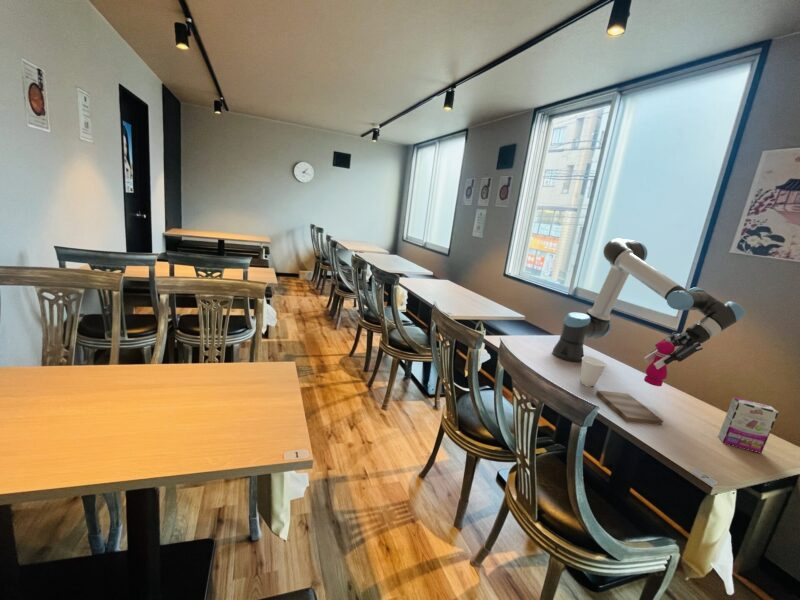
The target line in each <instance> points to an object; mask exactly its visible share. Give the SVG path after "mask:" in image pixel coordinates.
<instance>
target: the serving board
mask: <svg viewBox="0 0 800 600" xmlns="http://www.w3.org/2000/svg"><path fill="white" fill-rule="evenodd" d="M595 395H596V396H597V397H598V398H599V399H600V400H601V401H603V403H604V404H606V405H607V407H609V408H610V409H611V410H613V412H615V414H617V416H619V417H620V418H621V419H622V420H623V421H624V422H626V423H633V424H642V425H643V424H644V425H653V426H662V425H663V423H664V420H663V419H662V418H660V417H659V416H658V415H656V413H654V412H653V411H651V410H650V409H649V408H648V407H646V406H645V405H644V404H642V403H641V402H640V401H638V400H637V399H636V398H635V397H633V396H632V395H631V394H629V393H628V392H616V391H606V390H599V389H597V390H596V392H595Z"/></svg>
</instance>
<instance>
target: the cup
mask: <svg viewBox="0 0 800 600" xmlns="http://www.w3.org/2000/svg"><path fill="white" fill-rule="evenodd" d="M606 366H607V363H606V362H604V361H603V360H601V359H599V358H595V357H592V356H584V357H582V362H581V366H580V367H581V369H580V377H579V380H580V381H579V382H580V383H581V384H582V385H585V386H586V385H587V386H586V387H590V386H593V387H595V386H596V385H597V383H598V380H599V379H600V377H601V375H602V373H603V372H604V369H605V367H606Z"/></svg>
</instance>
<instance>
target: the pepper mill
mask: <svg viewBox="0 0 800 600" xmlns="http://www.w3.org/2000/svg"><path fill="white" fill-rule="evenodd" d="M665 338H666V341H662V340H660V341H658V342H657V343H658V344H657V343H656V344H657V346H655V347H656V348H655V349H657V351H656V353H655V354H656V357H655V359H654V360H652V361H651V363H650V364H649V365H648V366H647V367H646V369H645V373H646V374H645V376H644V377H643V381H644V382H645V383H647V384H649V385H651V386H655V387H662V385H663V381H664V380H665V379H667V376H668V369H667V368H668V367H667V365H664V366H663V367H661V368H659V369H656V367H655V365H654V363H656V362H657V361H659V360H660V359H662V358H663V357H665V356H667V355H670V354H672V353H673V352H674V351H675V350H676V349H675V348H676V347H674V345H673V344H672V343H671V342H670V341H671V339H670V338H667V337H665Z"/></svg>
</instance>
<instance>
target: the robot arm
mask: <svg viewBox="0 0 800 600" xmlns="http://www.w3.org/2000/svg"><path fill="white" fill-rule="evenodd" d="M603 257H604V258H605V260H607V262H609V265H610V270H609V271H608V274H607V276H606V278H605V279H604V282H603V284H602V286H601V289H600V291H599V293H598V294H597V296H596V299H595V301H594V304H593V306H592V307H591V308H589V309H587V311H586V313H583V312H573V311H571V312H569V313H567V314H566V315H565V318H564V320H563V325H562V329H561V332H560V336H559V340H558V341H557V343H556V344H555V345H554V347H553V349H552V354H553V355H554V356H556V357H558V358H560V359H562V360H565V361H569V362H573V363H582V357H585V354H584V344H585V340H586V339H600V338H604V337H605V336H607V335H608V334H609V333H610V331H611V329H612V325H611V315H610V314H611V313H612V310H613V308H614V306H615V304H616V302H617V300H618V299H619V296H620V294H621V291H622V290H623V288H624V286H625V283H626V281H627V280H628V277H629V275H631V276H632V277H634V278H635V279H636V280H638V281H639V282H640V283H641V284H642V285H644V286H646V287H647V288H649V289H650V290H652V291H653V292H654V293H655V294H657V295H658V296H660V297H661V298H662V299H664V300H665V301H666V303H667V305H668V307H670V308H671V309H673V310H676V311H677V310H678V311H697V312H700V313H701V314H702V315H704V317H702V318H701V319H699V320H697V321H696V322H695V323H692V325H690V326H688V327H687V328H686V330H685V331H684V332H680V333H677V332H676V331H673V332H672V333H671V334H670V335H668V336H666V337H665V338H664V339H662V340H661V341H666V338H670V339H671V341H670V342H671V343H672V344H673V345H674V347H675V348H676V347H677V348H676V349H675V350H674V352H673V353H671V354H670V355H667V356H665V357H663V358H662V359H660V360H659V361H657V362H656V363H654V365H655V367H656V369H659V368H661V367H663V366H664V365H666V366H667V365H669V364H670V363H673V362H675V361H677V362H680V363H681V362H682V361H684V360H686V359H687V358H688V357H690V356H692V355H694V354H695V353H696V352H698V351H701V350H703V349H704V348H703V346H702V344H704V343H705V342H708V341H709V340H710V339H711V338H713V337H715V336H716V335H718V334H719V333H721V332H722V331H724V330H726V329H727V328H729V327H731V326H732V325H735V324H736V323H737V322H738V321H740V320H741V319H743V318H744V317H745V316H746V311H745V310H744V307H742V305H740V304H739V303H738V302H734V301H727V302H725V303H724V302H723V301H721V300H718V299H717V298H715V297H714V296H713V295H711V294H709V293H708V292H707V291H705V290H703V289H702V288H700V287H697V286H694V287H692V288H689V289H686V288H685V287H683V286H681V285H680V284H679V283H677V282H675V280H673V279H671V278H669V277H668V276H666V275H665V274H664V273H662V272H661V271H660V270H657V269H656V268H655V267H653V266H651V265H650V264H648V263H647V262H646V259H647V258H648V249H647V247H646V245H645V244H644V243H643V242H641V241H638V240H633V239H623V238H614V239H611V240H610V241H608V242H607V243H606V244H605V245H604V247H603ZM657 344H658V342H657V343H656V344H655V345H654V346H655V347H656V346H657ZM656 351H657V348H655V349H654V350H652V351H651V352H650V353H649V354H647V355H646V356H645V357H644V358H643V359H644V360H645V362H646V363H647V364H649V363H650V362H651V363H652V362H653V361H654V359H655V357H656V354H655V353H656Z"/></svg>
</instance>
